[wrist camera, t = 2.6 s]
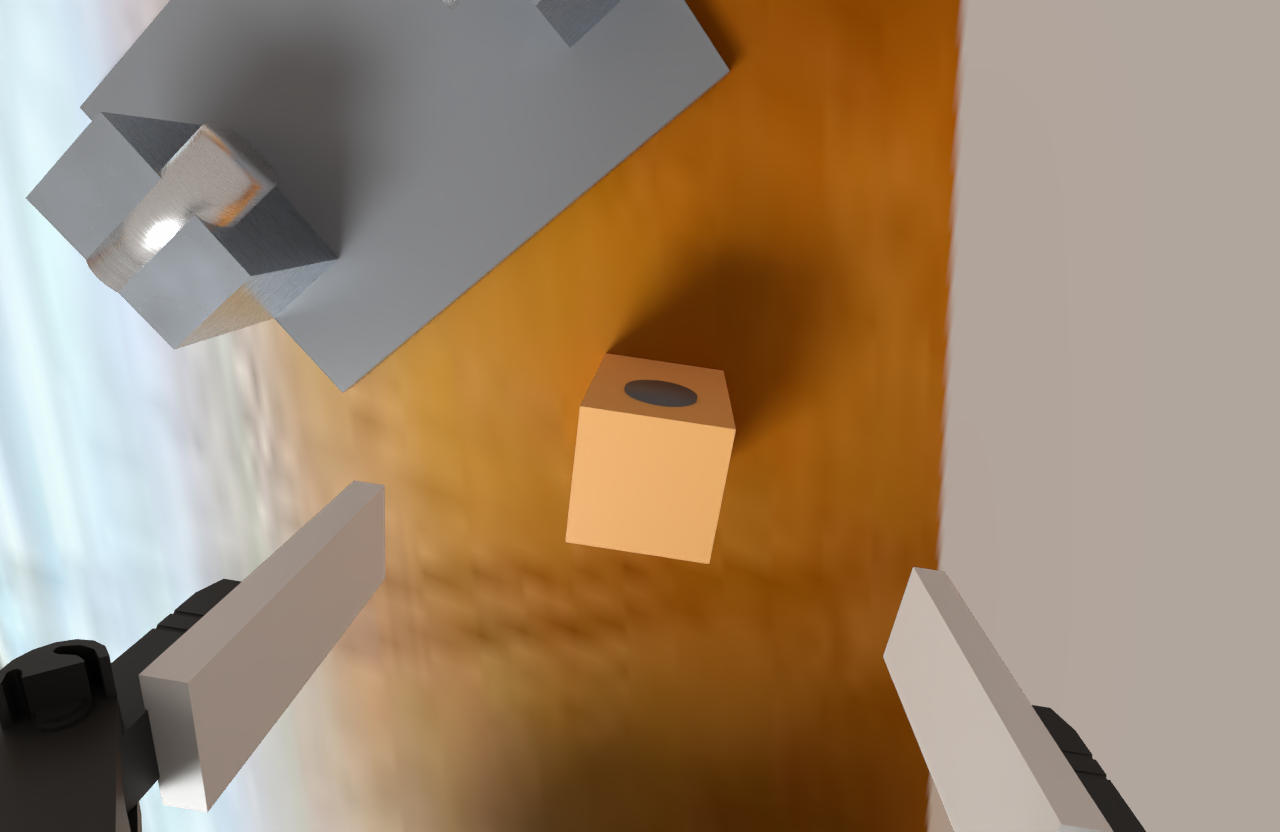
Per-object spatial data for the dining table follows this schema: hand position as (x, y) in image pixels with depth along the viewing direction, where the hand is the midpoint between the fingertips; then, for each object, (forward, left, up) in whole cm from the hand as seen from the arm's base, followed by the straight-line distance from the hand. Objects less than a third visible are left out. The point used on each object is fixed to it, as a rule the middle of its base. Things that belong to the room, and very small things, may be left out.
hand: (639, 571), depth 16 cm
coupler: (0, 0, -13) cm, 12 cm away
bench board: (+16, 0, -12) cm, 20 cm away
